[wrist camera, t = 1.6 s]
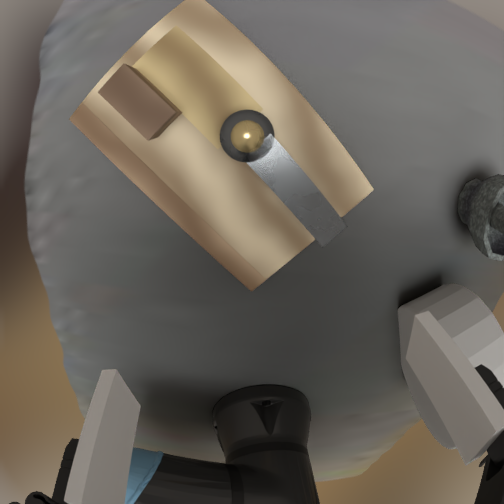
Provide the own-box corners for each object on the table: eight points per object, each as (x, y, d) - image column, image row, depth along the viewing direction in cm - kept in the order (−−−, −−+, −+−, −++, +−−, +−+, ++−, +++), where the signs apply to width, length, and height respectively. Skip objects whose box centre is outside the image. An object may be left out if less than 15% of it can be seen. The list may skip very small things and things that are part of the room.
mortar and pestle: (502, 178, 29) (567, 209, 18) (482, 241, 33) (539, 284, 22) (452, 151, 27) (530, 179, 16) (429, 227, 31) (496, 277, 20)
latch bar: (210, 132, 24) (207, 135, 20) (246, 100, 23) (249, 98, 19) (307, 235, 29) (318, 253, 25) (339, 209, 28) (354, 223, 24)
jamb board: (250, 285, 32) (254, 311, 28) (74, 118, 23) (50, 121, 19) (368, 186, 28) (390, 199, 24) (196, -3, 19) (191, -23, 15)
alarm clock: (437, 361, 43) (490, 446, 25) (401, 380, 43) (448, 473, 25) (441, 262, 33) (541, 362, 16) (394, 284, 34) (485, 406, 16)
